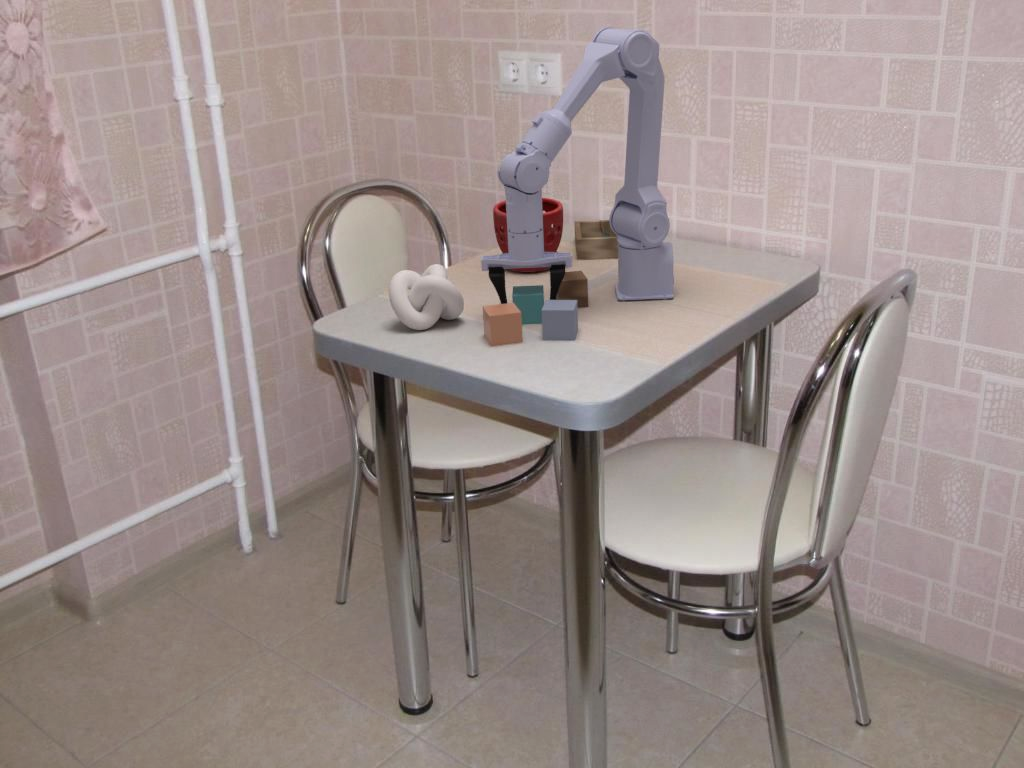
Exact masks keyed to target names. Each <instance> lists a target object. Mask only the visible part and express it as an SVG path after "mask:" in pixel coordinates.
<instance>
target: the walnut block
mask: <svg viewBox="0 0 1024 768" xmlns="http://www.w3.org/2000/svg"><path fill="white" fill-rule="evenodd" d="M588 281H589V280H588V278H587V276H586V275H585V273H584V272H583V270H574V271H565V276H564V278H563V280H562V282H561V285H560V287H559V290H558V293H557V297H556V300H577V307H578V309H579V308H589V284H588V283H589V282H588Z"/></svg>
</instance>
